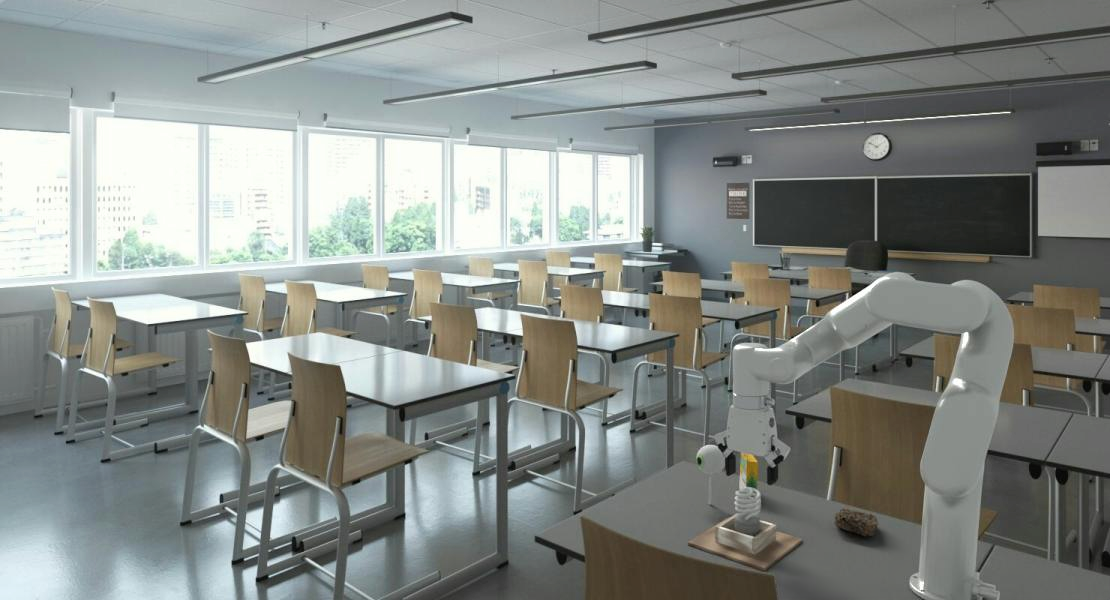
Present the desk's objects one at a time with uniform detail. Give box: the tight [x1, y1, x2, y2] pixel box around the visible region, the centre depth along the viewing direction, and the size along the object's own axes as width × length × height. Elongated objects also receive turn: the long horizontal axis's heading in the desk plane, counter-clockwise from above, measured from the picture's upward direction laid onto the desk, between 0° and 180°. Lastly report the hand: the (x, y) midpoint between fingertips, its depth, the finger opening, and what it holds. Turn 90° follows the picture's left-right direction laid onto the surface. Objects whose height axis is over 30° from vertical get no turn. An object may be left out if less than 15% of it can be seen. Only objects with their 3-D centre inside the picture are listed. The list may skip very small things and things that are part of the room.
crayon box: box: [738, 453, 759, 498], centre depth 199 cm, size 7×3×12 cm, turn 179°
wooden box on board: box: [687, 512, 803, 572], centre depth 171 cm, size 18×18×4 cm
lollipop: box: [695, 444, 725, 505], centre depth 192 cm, size 7×7×15 cm
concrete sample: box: [834, 507, 879, 538], centre depth 178 cm, size 12×10×5 cm
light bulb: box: [734, 487, 762, 537], centre depth 171 cm, size 6×6×12 cm
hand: (751, 478), depth 169 cm, fingers open, 9 cm apart
